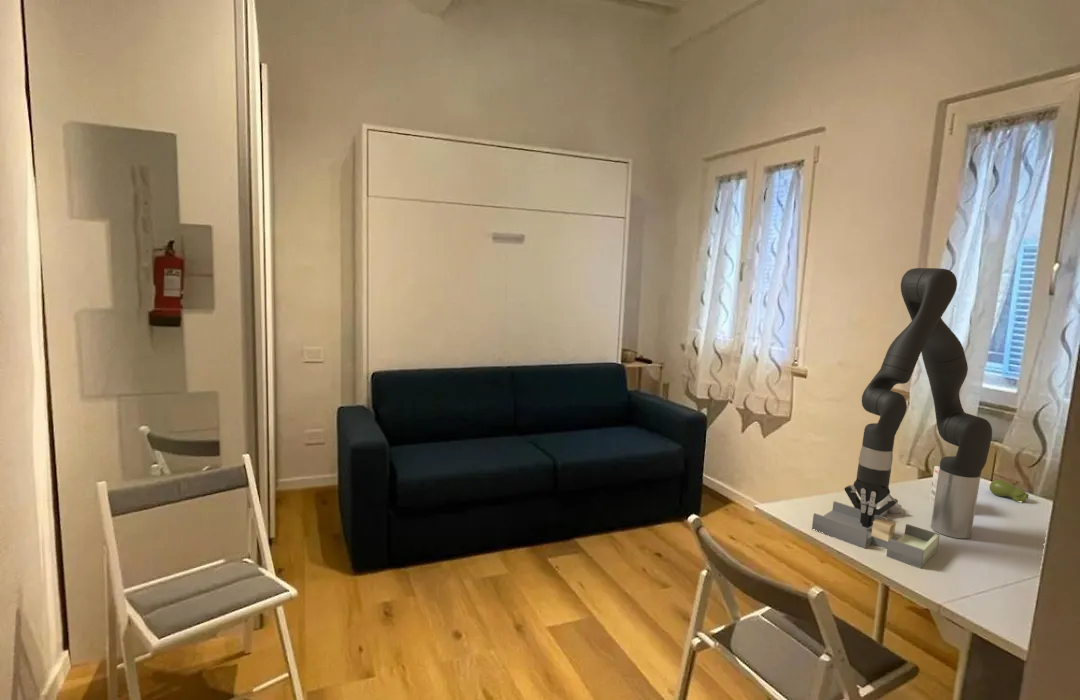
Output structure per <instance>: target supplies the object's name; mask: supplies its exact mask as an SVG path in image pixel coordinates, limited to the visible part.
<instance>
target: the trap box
mask: <svg viewBox="0 0 1080 700" xmlns="http://www.w3.org/2000/svg"><path fill="white" fill-rule="evenodd" d="M832 502H833V503H832V509H831V510H830V511H829V512H827V513H825V514H824V515H822V514H819V513H816V512H815V513H813V517H812V525H811V530H812V529H815V530H817V531H820V532H823V533H825V534H824V535H826V534H827V536H828V535H830V536H829V537H831V536H832V538H834V537H835V539H837V540H840V541H842V540H843V542H844V543H845V542H846V543H848V544H851V545H854V546H856V547H860V548H863V549H866V548H867V547H869V546H870V545H871V544H872V545H874V546H877V547H881V548H883V549H886V555H885V556H886V557H888V558H891V559H893V560H896V561H899V562H901V563H904V564H907V565H909V566H913V567H915V568H919V569H922V568H923V567H924V565H925V564H926V563H927V562H928V561H929V560H930V559H931V558H932V557H933V556H934V555H935V554H936V553H937V552H938V549H939V542H940V535H941V533H938V532H937V533H936V532H935V531H934V532H933V531H930V530H927V529H924V528H921V527H919V526H914V525H911V524H908V523H906V524H905V529H904V533H903V534H902V535H901V536H900V537H899V536H897V535H894V538H892V539H889V541H888V542H887V541H884V540H882V539H879V538H876V537H873V536H871V534H872V527H873V525H872V526H871V527H869V528H866V527H863V526H862V524H861V523H860V519H861V511H860V510H859V509H856V508H855V507H854V506H851V505H848V504H844V503H841V502H838V501H835V500H834V501H832ZM878 518H882V519H885V520H887V516H886V517H885V516H884V515H883V516H880V515H875V517H874V521H875V520H876V519H878ZM817 531H816V532H817ZM820 532H819V533H820ZM823 533H822V534H823Z"/></svg>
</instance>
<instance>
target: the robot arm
mask: <svg viewBox="0 0 1080 700" xmlns="http://www.w3.org/2000/svg"><path fill="white" fill-rule="evenodd" d="M900 281H901V282H900V293H901V297H902V299H903V301H904V304H905V306H906V309H907V312H908V314H909V317H910V319H911V321H910V323H909V324H908V325H907V326H906V327H905V328H904V329H903V330H902V331H901V332H899V334H898V335H897V336H896V337H895V338H894V340H893V341H892V342H891V344H890V345H889V347H888V349H887V351H886V353H885V357H884V358H883V361H882V363H881V366H880V369H879V370H878V371H877V373H876V374H875V375H874V376H873V378H872V379H871V380H870V382H869V383H868V384H867V386H866V387H865V389H864V390H863V393H862V396H861V406H862V408H863V409H864V411H866V412H868V413H870V414H873V415H876V416H879V419H878V421H877V423H876V422H875V423H874V422H873V423H868V424H867V425H866V426H864V430H863V437H862V443H861V448H860V451H859V456H858V464H857V472H856V479H855V481H854V482H853V484H851V485H850V484H849V485H847V486H845V487H844V491H845V494H846V495H847V497H848V499H849V500H850V502H851V504H852V505H853V507H855V508H856V509H859V510H860V511H861V519H860V523H861V524H862V526H863V527H866V528H869V527H871V526H872V525H873V521H874V517H875V515H880V514H882V513H883V512H885V511H886V510H888V509H889V508H891V507H892V506H894V505H895V504H897V503H898V504H899V500H898V499H897V498H894V497H893V496H892V495H891V491H890V488H889V487H890V486H889V485H890V481H891V473H892V467H893V459H894V455H893V454H894V453H893V452H894V446H895V445H894V444H895V437H896V434H897V433H898V430H899V429H900V426H901V424H902V423H903V422H902V421H903V420H904V417H905V415H906V413H907V410H908V409H907V408H908V405H907V400H906V398H905V397H904V395H903V394H901V393H899V392H897V391H894V390H892V389H893V388H894V387H895V386H896V385H899V384H901V385H903V384H907V383H908V382H910V379H911V377H912V375H913V373H914V371H915V367H916V365H917V362H918V360H919V357H920V356H921V357H922V361H923V364H924V369H925V372H926V375H927V378H928V383H929V386H930V391H931V394H932V399H933V405H934V412H935V420H936V421H935V422H936V426H937V431H938V434H939V436H940V438H941V439H942V440H943V441H944V442H946V443H948V444H951V445H954V446H955V447H958V448H957V453H956V454H955V456H954V455H953V456H952V455H951V456H944V457H942V458H941V459H940V462H939V466H940V468H939V474H938V481H937V488H936V494H935V501H934V505H933V510H932V515H931V523H930V527H931V529H932V530H933V531H934V532H935V533H936V532H937V534H940V535H944V536H946V537H951V538H955V539H969V538H971V536H972V532H973V530H972V529H973V525H974V518H975V513H976V508H977V506H976V505H977V499H978V495H979V489H980V482H981V476H982V472H983V469H984V468H985V466H986V464H987V460H988V456H989V451H990V448H991V444H992V440H993V439H992V438H993V427H992V425H991V423H990V422H989V420H987V419H985V418H983V417H980V416H977V415H973V414H970V413H967V412H966V411H964V409H963V405H962V402H961V397H960V390H961V389H962V386H963V384H964V383H965V381H966V378H967V376H968V372H969V371H968V370H969V369H968V368H969V367H968V365H969V364H968V362H967V358H966V354H965V350H964V346H963V344H962V342H961V341H960V340H959V338H958V337H957V335H956V334H955V333H954V332H953V331H952V330H951V328H950V327H949V326H948V325H947V323H945V321H944V320H943V318H942V317H943V315H944V313H945V311H946V310H947V308H948V307H949V305H950V304H951V301H952V300H953V298H954V296H955V294H956V291H957V287H958V280H957V277H956V275H955V273H953V271H951V270H950V269H947V268H935V267H934V268H933V267H932V268H930V267H917V268H916V267H915V268H911V269H908V270H907V271H906V272H905V273H903V276H902V277H901V280H900ZM884 498H886V500H885V503H886V505H884V506H883V507H881V508H880V509H877V506H878V503H879V502H880V501H882V500H883V499H884Z"/></svg>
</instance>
